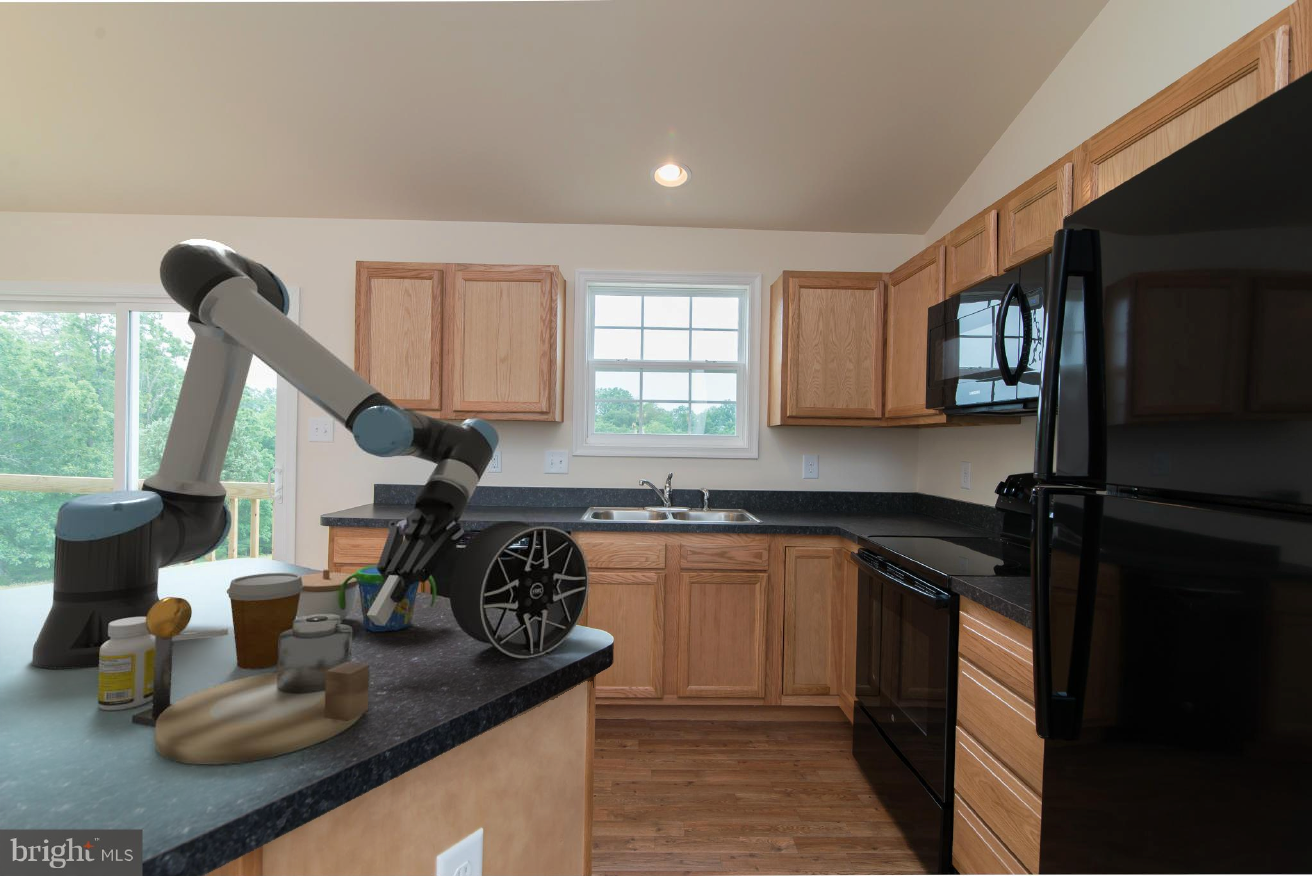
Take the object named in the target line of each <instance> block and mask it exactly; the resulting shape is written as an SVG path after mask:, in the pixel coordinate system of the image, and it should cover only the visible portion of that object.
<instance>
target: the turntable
mask: <svg viewBox="0 0 1312 876" xmlns="http://www.w3.org/2000/svg"><path fill="white" fill-rule="evenodd" d="M369 682H370V664H366V663H358V662H352V661H351V662H345V663H343V664H341V665H339V666H336V667H334V668H332V669H329V670H327V671H326V690H325V691H320V692H314V693H303V694H293V693H285V692H282V691H279V690H278V689H277V671H276V672H270V673H264V674H263V673H262V674H258V675H251V676H247V677H243V678H238V679H235V680H230V681H227V682H223V683H220V684H215V685H213V686H210V687H207V688H204V689H202V690H199V691H197V692H196V691H195V692H194V693H191V694H190V695H188V696H187V695H186V696H185V697H183V698H181V699H179V700H178V701H176V702H174V703H171V704H172V705H171V706H170V707H168V708H167V709H166V710H164V711H163V712H162V713H161V714H160V716H159V717H158V719H157V721H156V727H155V736H154V746H155V749H156V751H157V752H158V753H159V754H161V756H163V757H165V758H167V759H169V760H171V761H176V762H180V763H181V762H182V763H187V764H195V765H197V764H198V765H221V764H223V765H224V764H225V765H226V764H234V763H235V764H236V763H243V762H244V763H245V762H250V761H251V762H252V761H258V760H262V759H263V760H264V759H267V758H273V757H277V756H281V755H284V754H289V753H293V752H295V751H299V750H301V749H302V750H303V749H305V748H309V747H310V746H311V747H312V746H313V745H315V744H318V743H321V742H323V741H326V740H328V739H331V738H332V737H334V736H336V735H338V734H340V733H342V732H344V731H345V730H347V729H349V728H350V727H351V726H352V725H354V724H355V723H357V722H358V720H359V719H360V718H361V717H362V716H363V714H364V713H366V712H367V711H368V710H369V690H370V688H369V686H370V683H369Z"/></svg>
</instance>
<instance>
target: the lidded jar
mask: <svg viewBox="0 0 1312 876" xmlns="http://www.w3.org/2000/svg"><path fill="white" fill-rule="evenodd" d="M352 574H353V573H347V572H331V571H330V569H329V568H324V569H323V570H322V572H319V573H318V572H317V573H310V574H309V573H308V574H303V575H300V576H301V579H302V583H304V587H303V588H302V591H301V592H300V598H299V603H298V609H297V615H296V619H297V618H300V617H304V616H309V615H316V614H334V615H338V616H340V617H341V618H340V624H342V623H343V620H344V619H346V618H347V617H348V616H349V615H350V614H351V612H352V611H353V609H354V607H355V605H356V602H357V598H358V592H359V583H358V581H357V579H356V578H352V579H351V580H349V581H348V583H347V585H346V588H345V598H346V608H345V609H344V610H342V609H341V608H340V605H339V594H340V589H341V586H342V584H343V583H344V581H345V580H346V579H347V578H348V577H349V576H350V575H352Z"/></svg>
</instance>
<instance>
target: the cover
mask: <svg viewBox="0 0 1312 876" xmlns="http://www.w3.org/2000/svg"><path fill="white" fill-rule="evenodd" d="M340 618H341V617H340V616H338V615H334V614H316V615H309V616H304V617H300V618H297V617H296V619H295V620H294V621H293V629H290V630H287V631H285V632H283V633H281V634H280V635H279V644H278V665H277V669H276V670H277V671H276V672H277V689H278V690H279V691H282V692H285V693H293V694H303V693H314V692H320V691H325V690H326V671H327V670H329V669H332V668H334V667H336V666H339V665H341V664H343V663H345V662H352V645H353V643H352V642H353V639H352V638H353V628H352V626H350V625H347V624H342V623H340Z"/></svg>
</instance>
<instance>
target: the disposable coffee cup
mask: <svg viewBox="0 0 1312 876" xmlns="http://www.w3.org/2000/svg"><path fill="white" fill-rule="evenodd" d="M301 576H302V575H301V574H297V573H292V572H291V573H290V572H269V573H258V574H251V575H244V576H239V577H236V578H233V579H232V580H231V582H230V584H229V587H228V589H226V593H227V594H228V598H229V599H230V606H231V607H230V608H231V616H232V625H233V627H232V628H233V635H234V637H233V638H234V644H235V653H236V665H237V668H240V669H245V670H260V669H261V670H262V669H267V668H272V667H276V665H277V666H278V644H279V635H280V634H281V633H283V632H285V631H287V630H290V629H293V621H294V620H295V619H297V616H296V615H297V609H298V603H299V598H300V592H301V591H302V588H303V587H304V583H302V579H301Z"/></svg>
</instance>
